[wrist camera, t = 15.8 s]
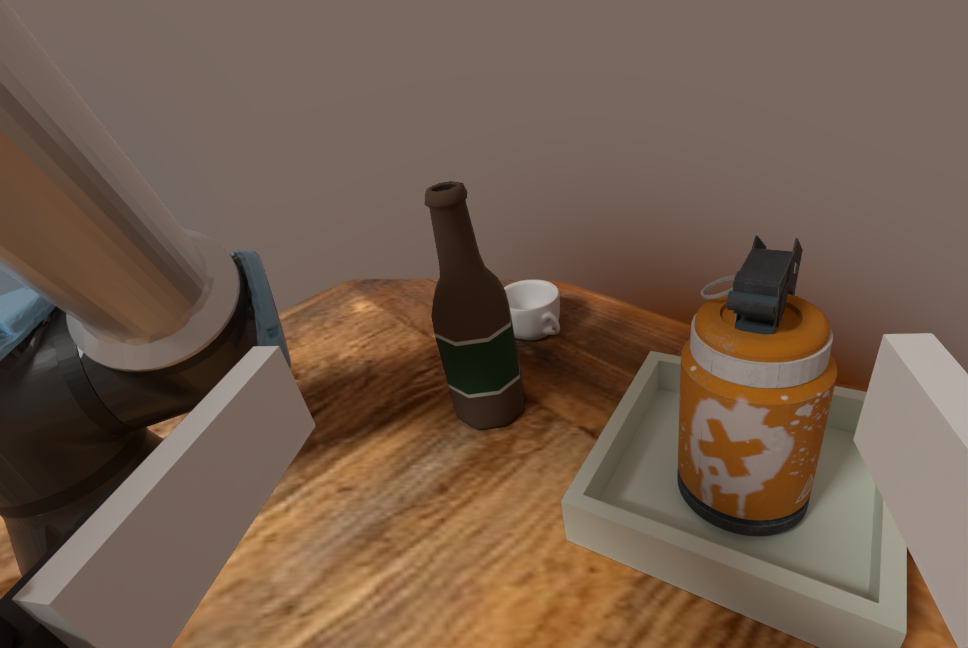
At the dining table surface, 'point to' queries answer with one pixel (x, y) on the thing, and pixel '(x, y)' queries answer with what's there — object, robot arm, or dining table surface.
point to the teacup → (534, 309)
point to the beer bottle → (472, 319)
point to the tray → (738, 558)
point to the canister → (754, 398)
